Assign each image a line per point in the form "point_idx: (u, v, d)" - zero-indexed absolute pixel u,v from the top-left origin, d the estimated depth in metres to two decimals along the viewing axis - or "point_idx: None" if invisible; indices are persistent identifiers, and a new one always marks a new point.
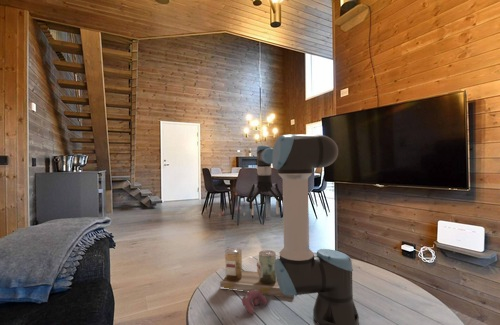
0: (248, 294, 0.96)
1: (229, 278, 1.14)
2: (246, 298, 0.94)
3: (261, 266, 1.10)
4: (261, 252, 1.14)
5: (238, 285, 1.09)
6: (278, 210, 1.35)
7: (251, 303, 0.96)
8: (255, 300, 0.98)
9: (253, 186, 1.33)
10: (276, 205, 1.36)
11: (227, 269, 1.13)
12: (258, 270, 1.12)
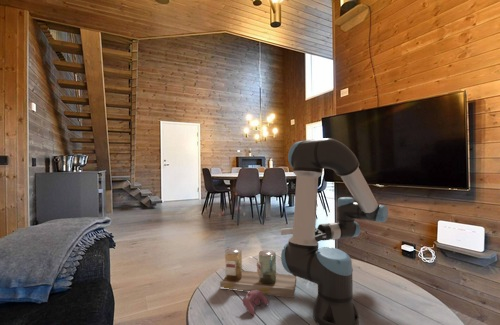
0: (249, 294, 0.96)
1: (229, 278, 1.14)
2: (247, 298, 0.94)
3: (261, 266, 1.10)
4: (261, 252, 1.14)
5: (238, 285, 1.09)
6: None
7: (252, 303, 0.96)
8: (256, 300, 0.98)
9: None
10: None
11: (227, 269, 1.13)
12: (258, 270, 1.12)
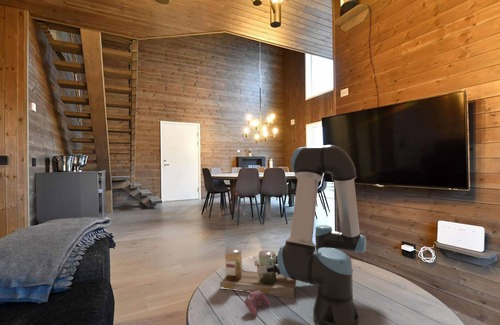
0: (251, 295, 0.95)
1: (229, 278, 1.14)
2: (249, 299, 0.93)
3: None
4: (261, 252, 1.14)
5: (238, 285, 1.09)
6: (263, 266, 1.08)
7: (254, 304, 0.95)
8: (258, 301, 0.97)
9: None
10: None
11: (227, 269, 1.13)
12: (258, 270, 1.12)
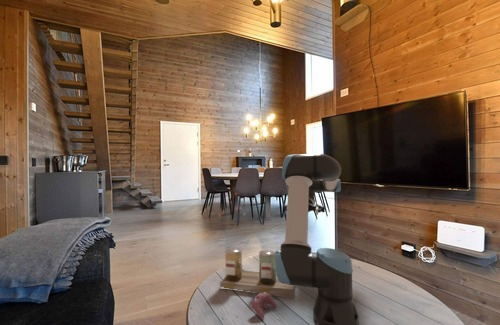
0: (257, 297, 0.94)
1: (229, 278, 1.14)
2: (256, 301, 0.92)
3: (271, 266, 1.09)
4: (263, 254, 1.11)
5: (238, 285, 1.09)
6: (317, 208, 1.19)
7: (260, 306, 0.93)
8: (264, 303, 0.95)
9: None
10: None
11: (227, 269, 1.14)
12: (265, 273, 1.09)
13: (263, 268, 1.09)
